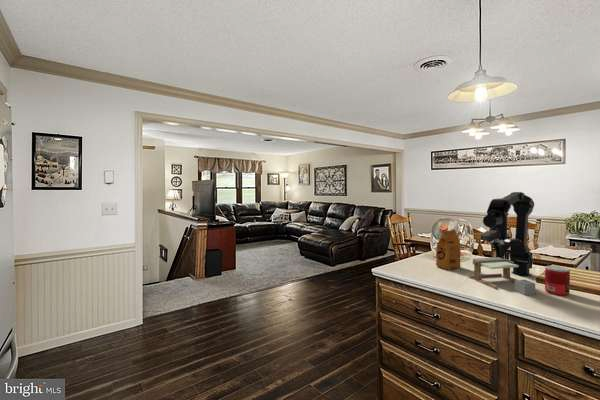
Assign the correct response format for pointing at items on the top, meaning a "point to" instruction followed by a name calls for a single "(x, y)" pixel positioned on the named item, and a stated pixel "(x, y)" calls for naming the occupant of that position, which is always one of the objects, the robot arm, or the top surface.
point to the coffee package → (448, 250)
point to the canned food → (557, 280)
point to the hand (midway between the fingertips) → (500, 257)
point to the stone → (524, 287)
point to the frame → (478, 276)
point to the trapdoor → (495, 263)
